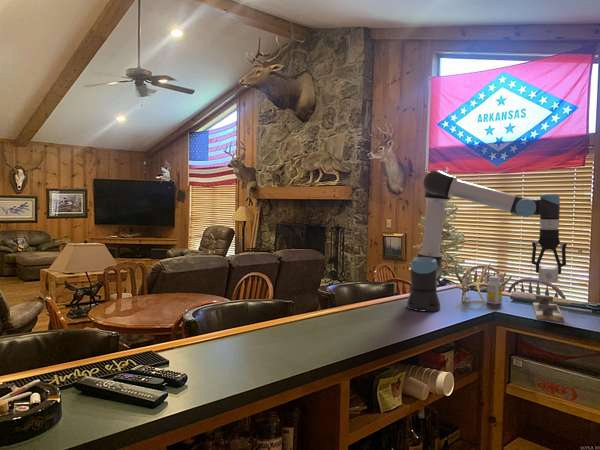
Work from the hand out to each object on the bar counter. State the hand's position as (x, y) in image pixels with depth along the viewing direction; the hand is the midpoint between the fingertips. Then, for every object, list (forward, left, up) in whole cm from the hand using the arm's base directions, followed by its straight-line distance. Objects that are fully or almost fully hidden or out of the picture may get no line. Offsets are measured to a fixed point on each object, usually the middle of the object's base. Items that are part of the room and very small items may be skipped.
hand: (548, 280), depth 201 cm
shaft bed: (0, 0, -15) cm, 15 cm away
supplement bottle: (-22, +12, -15) cm, 29 cm away
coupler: (0, 0, 0) cm, 0 cm away
